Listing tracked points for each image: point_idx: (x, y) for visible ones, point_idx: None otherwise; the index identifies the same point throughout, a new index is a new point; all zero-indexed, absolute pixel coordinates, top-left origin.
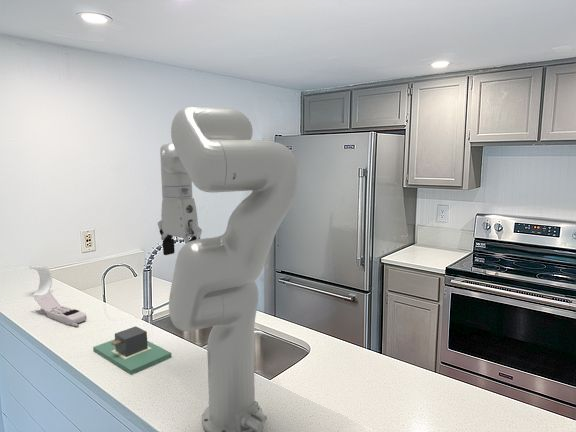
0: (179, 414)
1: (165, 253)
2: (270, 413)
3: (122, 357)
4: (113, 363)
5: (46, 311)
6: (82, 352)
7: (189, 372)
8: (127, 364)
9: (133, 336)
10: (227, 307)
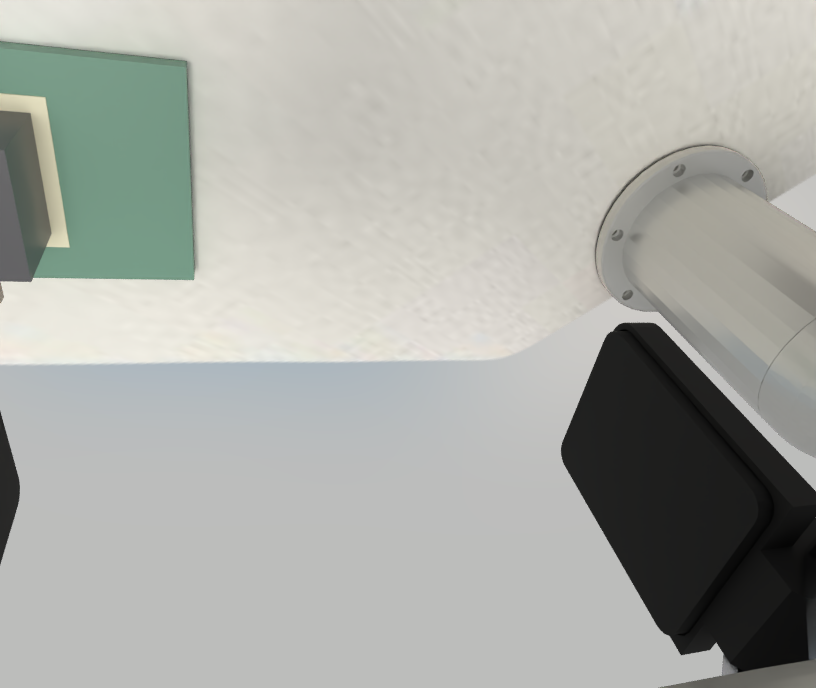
0: (525, 300)
1: (14, 510)
2: (772, 143)
3: None
4: None
5: None
6: None
7: (382, 116)
8: (130, 264)
9: (21, 236)
10: None
